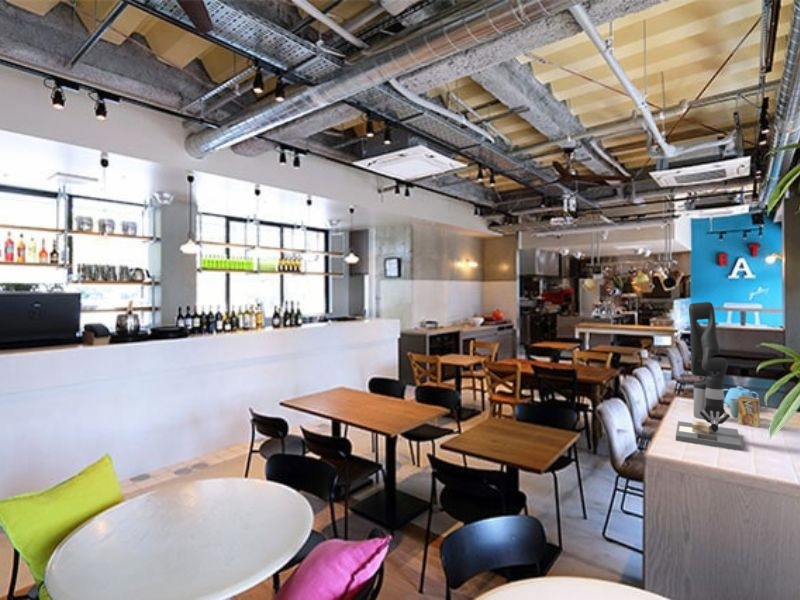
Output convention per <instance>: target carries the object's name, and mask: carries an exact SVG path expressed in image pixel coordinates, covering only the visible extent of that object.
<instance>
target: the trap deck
mask: <svg viewBox="0 0 800 600" xmlns="http://www.w3.org/2000/svg"><path fill="white" fill-rule="evenodd" d="M692 423H693V422H687V421H679V420H678V422H677V426H676V432H675V441H678V442H683V443H690V444H696V445H704V446H710V447H715V448H721V449H728V450H734V451H742V450H743V449H742V448H743V446H742V442H741V438H740V434H739V433H740V432H739V430H738V429H737V428H730V427H723V426H718V431H716V432H713V430H711V425H709V434H702V433H695V432H692Z"/></svg>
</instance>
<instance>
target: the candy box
mask: <svg viewBox="0 0 800 600" xmlns="http://www.w3.org/2000/svg"><path fill="white" fill-rule="evenodd" d="M760 405H761V403H760V397H759V398H757V397H754V398H752V397H744V396H739V397H738V418H737V419H738V420H737V421H738V422H737V424H738V425H740V424H741V426H747V425H748V427H752V426H756V427H755V428H759V427H760V410H761V409H760ZM758 426H759V427H758Z"/></svg>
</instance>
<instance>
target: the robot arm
mask: <svg viewBox="0 0 800 600" xmlns="http://www.w3.org/2000/svg"><path fill="white" fill-rule="evenodd" d="M714 308H715V307H714V305H713V304H712V302H710V301H704V302H693V303H690V304H689V305H688V314H689V316H688V317H689V325H690V352H691V354H690V355H691V356H690V358H691V359H690V372H691V374H692V375H693V376H696V377H705V379H702V380H698V381H695V382H694V383H693V417H695V418H697V419H702V420H705V422H706V423H709V424H710V426H711V430H713V432H716V431H718V427H719V425H722V424H724V423H725V422H726V421H727V420H728V419H729V418H730V417H731V414H730V413H727V412H726V410H725V402H724V396H725V393H724V392H725V391H724V392H723V390H724V378H725V375H726V373H727V369H728V366H729V365H728V361H727V360H726V358H723V357H712V356H716V355H718V354H720V352H721V351H720V350H721V349H720V346H719V341H718V336H717V324H716V314H715V309H714ZM701 320H707V321H708V322H707V324H706V325H707V326H706V328H704V327H703V326H701V324H700V323H699V321H701ZM701 357H702V359H701V360H700V358H701ZM714 372H715V374H714ZM722 416H723V417H722ZM721 417H722V418H721ZM719 418H721V419H720V420H719Z"/></svg>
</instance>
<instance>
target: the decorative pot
mask: <svg viewBox="0 0 800 600" xmlns="http://www.w3.org/2000/svg"><path fill="white" fill-rule="evenodd" d="M723 392H726V394H725V395H724V404H726V406H728V407H729V408H730V399H738V397H739V396H744V397H752V398H755V397H754V396H753V394H755V396H756V398H759V399H760V395H759V393H758V392H756V391H750V389H748V388H744V387H743V386H739V385H738V386H736V387H730V388H729V389H728V388H723Z"/></svg>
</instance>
